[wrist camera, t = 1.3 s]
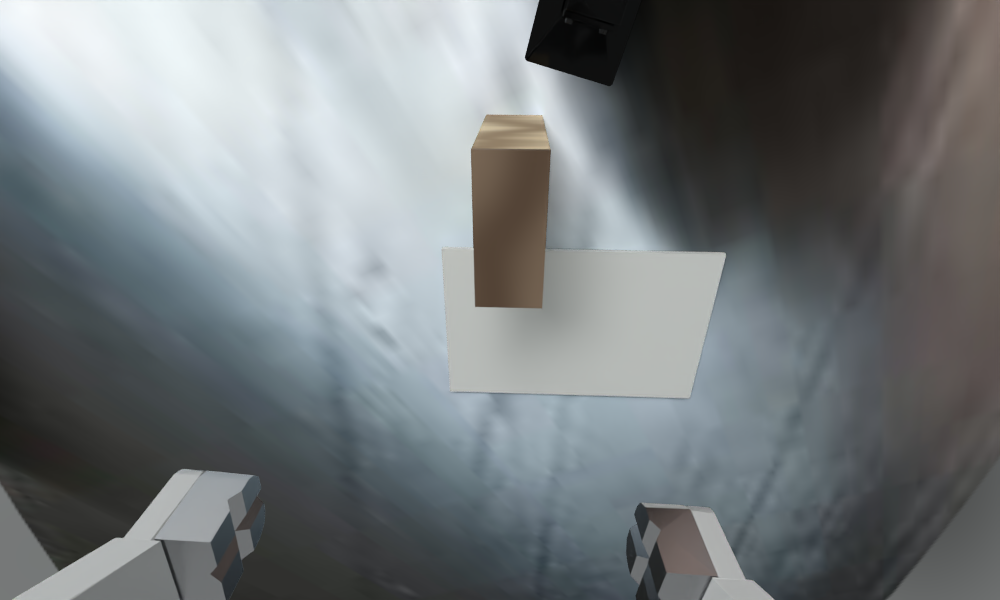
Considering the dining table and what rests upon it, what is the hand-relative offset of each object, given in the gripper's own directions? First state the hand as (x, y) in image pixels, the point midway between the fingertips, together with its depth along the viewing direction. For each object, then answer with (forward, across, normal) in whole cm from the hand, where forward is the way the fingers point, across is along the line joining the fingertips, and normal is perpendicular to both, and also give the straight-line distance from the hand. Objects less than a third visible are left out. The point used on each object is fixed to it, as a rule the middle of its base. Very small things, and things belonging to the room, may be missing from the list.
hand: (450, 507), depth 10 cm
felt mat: (+25, -8, +9) cm, 28 cm away
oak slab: (+25, -2, -2) cm, 25 cm away
